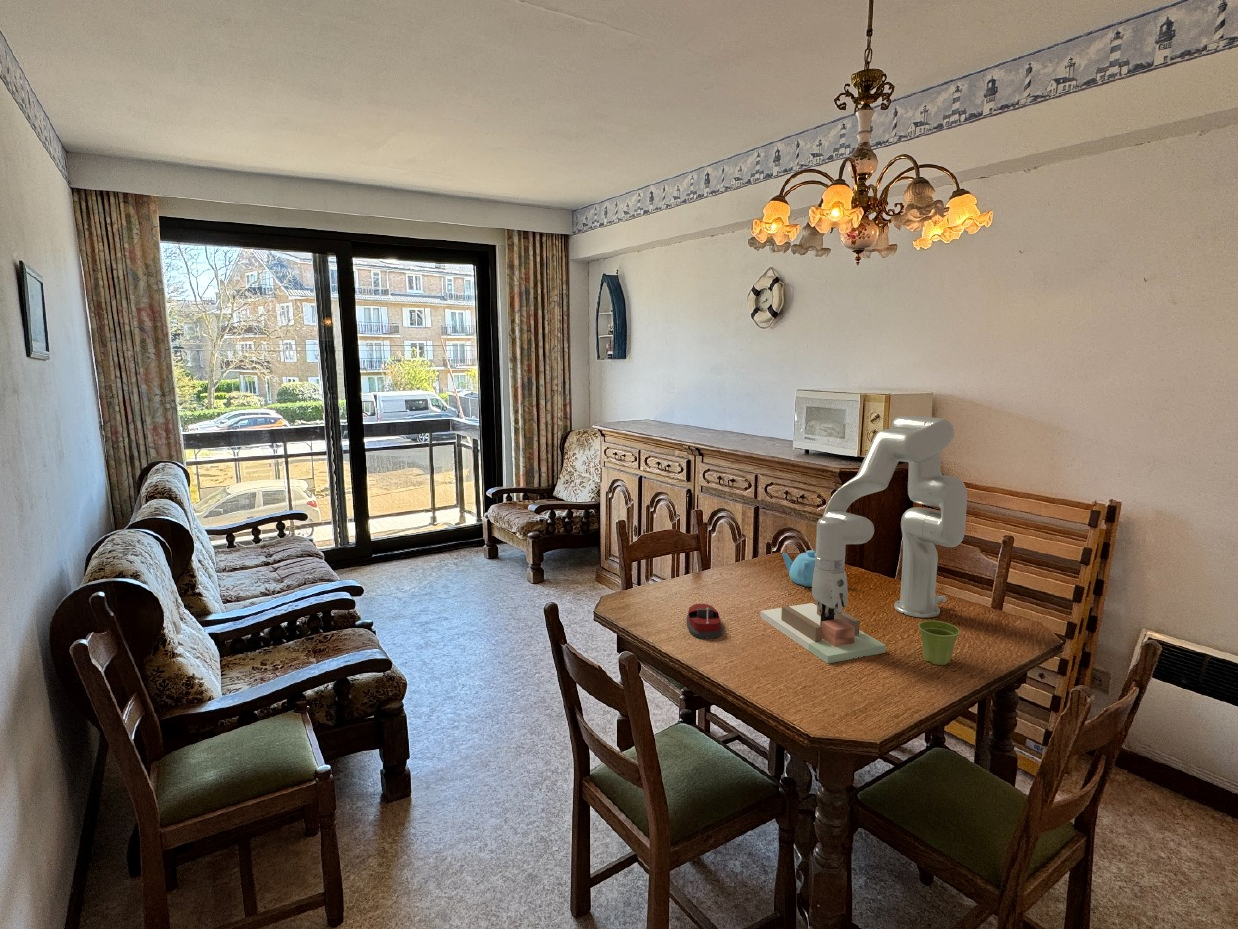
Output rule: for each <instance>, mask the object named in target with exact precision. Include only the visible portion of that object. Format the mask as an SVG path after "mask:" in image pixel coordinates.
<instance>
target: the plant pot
mask: <svg viewBox="0 0 1238 929" xmlns="http://www.w3.org/2000/svg"><path fill="white" fill-rule="evenodd" d="M917 626H918V629H919V632H920V635H921V644H922V655H923V659H924V661H926V662H930V663H931V664H933V665H936V666H937V665H938V666H946V665H948V664H950V663H951V659H952V655H953V651H954V647H955V643H956V640H957V638H958V636H959V635H960V633H961V631H960V630H961V629H959V628H958V627H957V626H955V625H953V624H951V623H948V622H945V621H941V620H924V621H920V622H919V623H918V625H917Z"/></svg>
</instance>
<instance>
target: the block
mask: <svg viewBox="0 0 1238 929" xmlns="http://www.w3.org/2000/svg"><path fill="white" fill-rule="evenodd" d="M821 626H822V639H824V640H826V641H827V642H829V643H830V644H832V645H833V646H841V645H847V644H852V643H854V637H855V627H854V626H852V625H851V624H849V623H847V622H846V621H844V620H842V619H835V620H828V621H822V622H821Z"/></svg>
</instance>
